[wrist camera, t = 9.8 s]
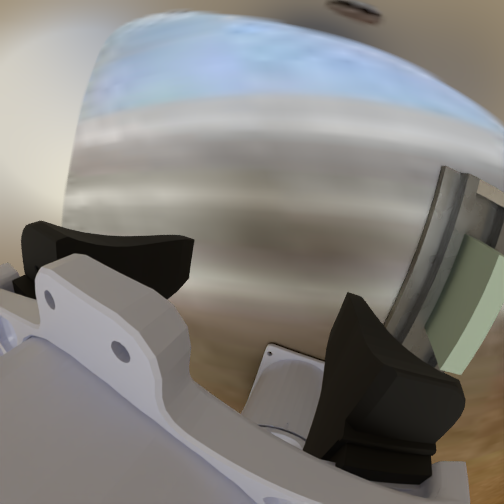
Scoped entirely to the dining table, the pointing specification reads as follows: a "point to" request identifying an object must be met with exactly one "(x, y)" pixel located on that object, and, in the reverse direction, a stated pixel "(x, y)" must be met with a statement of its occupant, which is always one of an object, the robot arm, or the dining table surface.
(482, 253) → the door panel
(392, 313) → the door track
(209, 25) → the dining table surface
